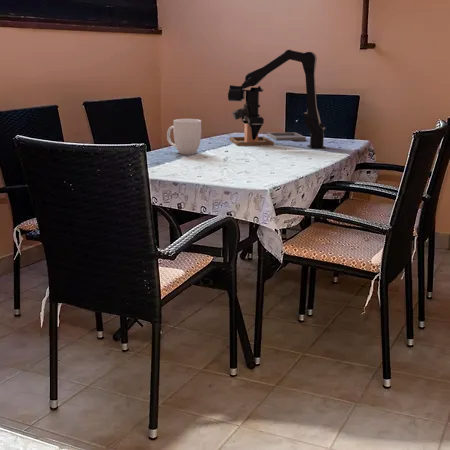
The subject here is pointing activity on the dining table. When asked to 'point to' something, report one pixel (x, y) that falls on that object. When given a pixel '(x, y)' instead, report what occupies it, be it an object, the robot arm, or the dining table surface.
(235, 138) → the dish
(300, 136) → the tray
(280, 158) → the dining table surface
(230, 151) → the dining table surface
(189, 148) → the mug
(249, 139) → the block
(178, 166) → the dining table surface
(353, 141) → the dining table surface
